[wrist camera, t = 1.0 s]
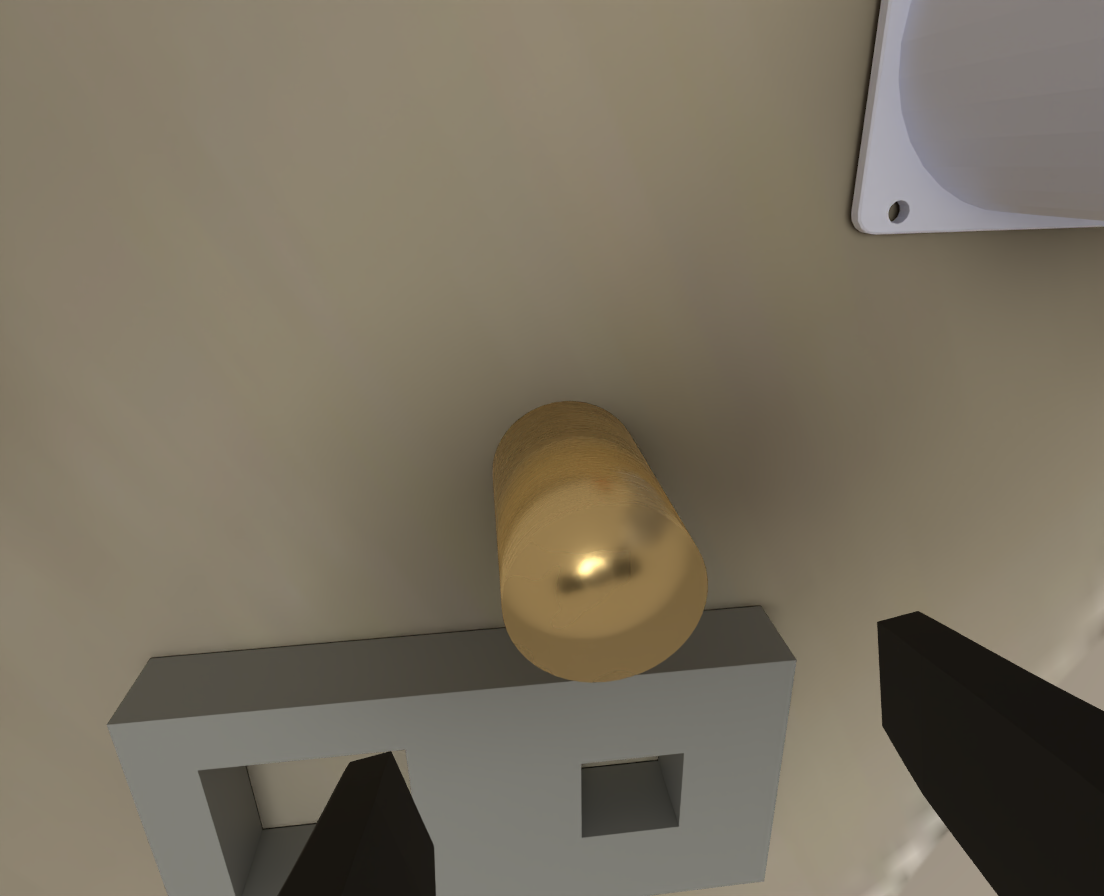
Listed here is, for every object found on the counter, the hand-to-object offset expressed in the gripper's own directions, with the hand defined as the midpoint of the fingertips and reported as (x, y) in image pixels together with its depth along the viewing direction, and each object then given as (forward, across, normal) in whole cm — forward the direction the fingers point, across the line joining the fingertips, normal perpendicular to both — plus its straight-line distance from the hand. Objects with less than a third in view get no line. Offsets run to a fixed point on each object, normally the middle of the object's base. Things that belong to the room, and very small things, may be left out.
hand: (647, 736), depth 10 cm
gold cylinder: (+9, 0, 0) cm, 9 cm away
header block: (+9, +5, +9) cm, 14 cm away
